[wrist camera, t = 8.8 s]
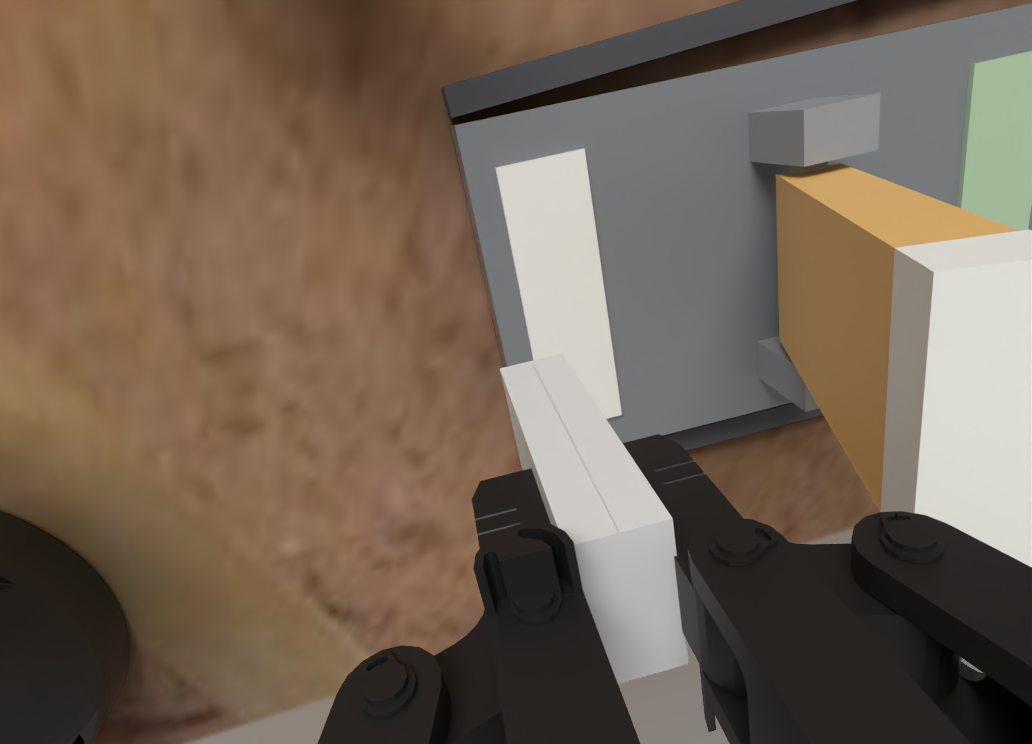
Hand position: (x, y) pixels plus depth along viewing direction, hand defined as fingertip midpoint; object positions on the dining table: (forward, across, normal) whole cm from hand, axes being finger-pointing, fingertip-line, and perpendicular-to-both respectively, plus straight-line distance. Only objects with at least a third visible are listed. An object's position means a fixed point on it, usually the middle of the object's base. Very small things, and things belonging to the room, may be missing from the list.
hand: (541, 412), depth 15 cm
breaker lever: (+7, +11, 0) cm, 13 cm away
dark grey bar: (+11, +11, +8) cm, 17 cm away
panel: (+11, +11, 0) cm, 15 cm away
